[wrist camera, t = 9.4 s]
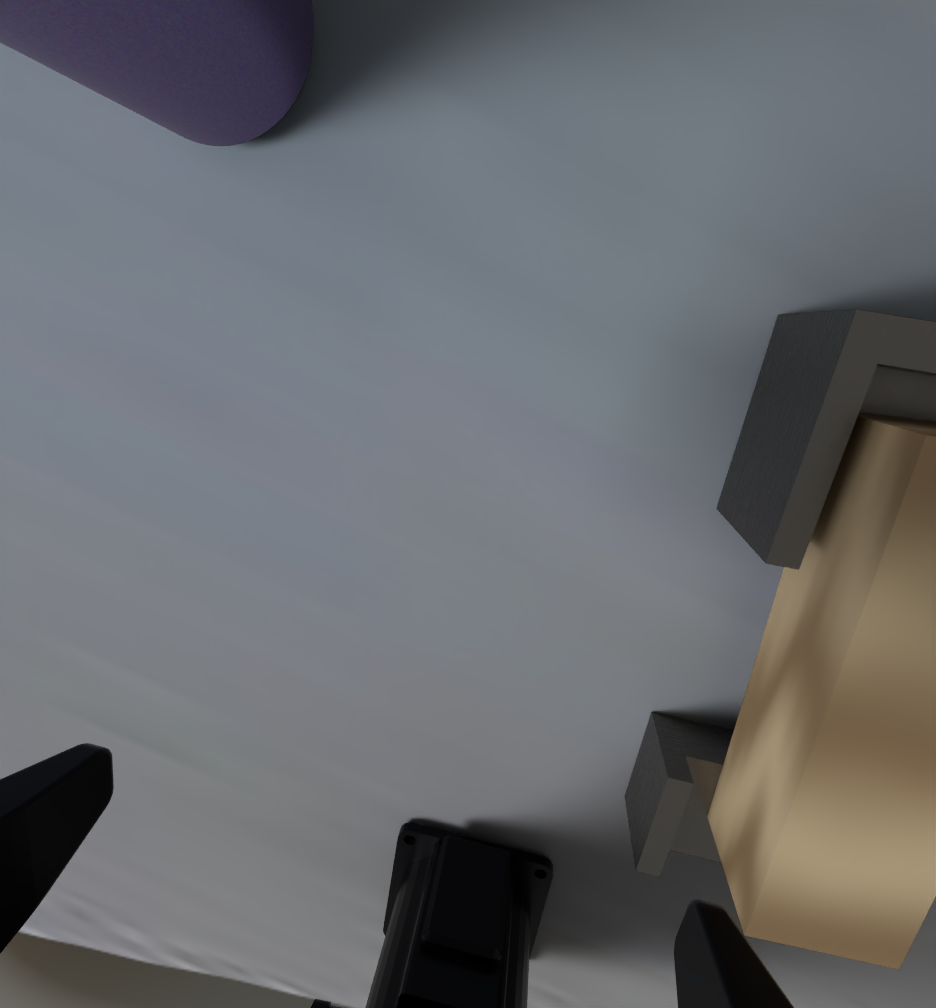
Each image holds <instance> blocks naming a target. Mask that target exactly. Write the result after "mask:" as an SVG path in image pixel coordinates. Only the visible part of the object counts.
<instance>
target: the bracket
mask: <svg viewBox="0 0 936 1008" xmlns="http://www.w3.org/2000/svg"><path fill="white" fill-rule="evenodd" d="M859 412H863V413H871V414H879V415H887V416H896V417H904V418H912V419H920V420H928V421H936V322H932V321H925V320H919V319H913V318H907V317H900V316H894V315H888V314H881V313H875V312H869V311H863V310H843V311H828V312H813V313H798V314H783V315H778V317H777V321H776V324H775V327H774V330H773V333H772V336H771V339H770V343H769V346H768V349H767V352H766V355H765V358H764V361H763V364H762V368H761V371H760V374H759V377H758V380H757V383H756V386H755V390H754V393H753V396H752V399H751V402H750V405H749V408H748V411H747V415H746V418H745V421H744V424H743V427H742V430H741V433H740V437H739V440H738V443H737V446H736V449H735V452H734V455H733V459H732V462H731V465H730V468H729V471H728V474H727V477H726V480H725V484H724V487H723V490H722V493H721V496H720V499H719V502H718V506H717V510H718V511H719V512H720V513H721V514H722V515H723V516H724V517H725V519H726V520H727V521H728V522H729V523H730V524H731V525H732V526H733V527H734V529H735V530H736V531H737V532H738V533H739V534H740V535H741V536H742V537H743V539H744V540H745V541H746V542H747V543H748V544H749V545H750V546H751V547H752V549H753V550H754V551H755V552H756V553H757V554H758V555H759V556H760V558H761V559H762V560H763V561H764V562H765V563H767V564H772V565H777V566H782V567H787V568H792V569H797V570H799V568H800V566H801V563H802V561H803V558H804V555H805V553H806V550H807V547H808V545H809V542H810V540H811V537H812V534H813V532H814V529H815V527H816V524H817V521H818V519H819V516H820V513H821V511H822V508H823V506H824V503H825V500H826V498H827V495H828V492H829V490H830V487H831V485H832V482H833V479H834V477H835V474H836V472H837V469H838V466H839V464H840V461H841V458H842V456H843V453H844V451H845V448H846V445H847V443H848V440H849V437H850V435H851V432H852V430H853V427H854V424H855V422H856V419H857V417H858V414H859Z"/></svg>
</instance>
